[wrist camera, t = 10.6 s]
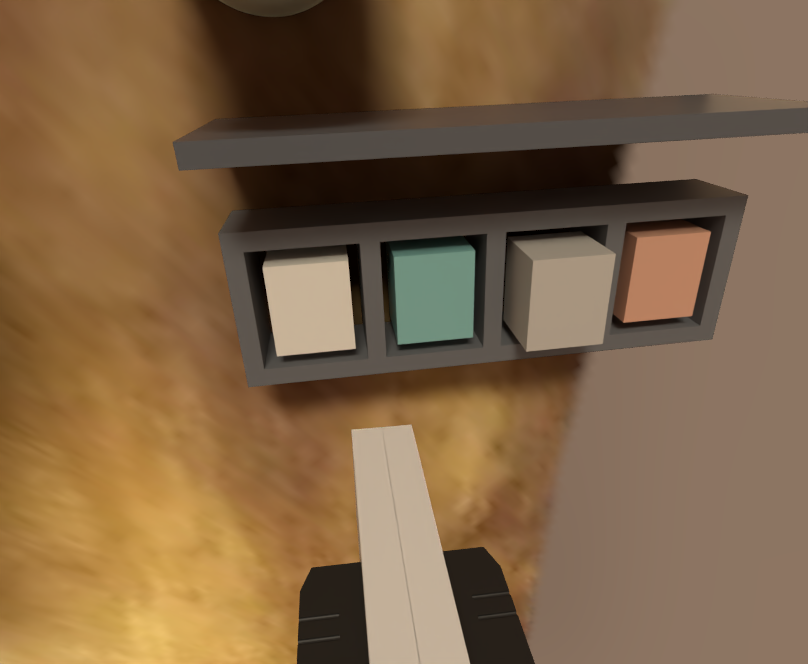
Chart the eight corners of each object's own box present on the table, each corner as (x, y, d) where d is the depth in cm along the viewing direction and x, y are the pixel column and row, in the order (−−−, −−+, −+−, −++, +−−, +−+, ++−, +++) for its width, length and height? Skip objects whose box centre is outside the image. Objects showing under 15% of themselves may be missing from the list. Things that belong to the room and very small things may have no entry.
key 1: (281, 324, 32) (277, 356, 29) (269, 243, 30) (262, 267, 26) (351, 317, 33) (355, 348, 29) (344, 237, 30) (348, 260, 27)
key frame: (256, 348, 33) (248, 387, 29) (232, 210, 30) (218, 233, 26) (669, 309, 36) (712, 339, 32) (695, 179, 33) (748, 195, 29)
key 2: (389, 314, 33) (397, 344, 29) (385, 234, 31) (393, 257, 27) (456, 308, 33) (473, 337, 30) (457, 229, 31) (475, 250, 28)
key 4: (592, 295, 34) (623, 322, 31) (602, 218, 32) (637, 237, 29) (654, 290, 35) (692, 315, 31) (668, 213, 33) (710, 231, 29)
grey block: (503, 319, 32) (526, 351, 28) (507, 236, 30) (533, 260, 26) (571, 313, 32) (602, 343, 29) (581, 231, 30) (615, 254, 26)
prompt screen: (220, 144, 28) (180, 177, 20) (215, 119, 27) (172, 141, 20) (708, 117, 31) (842, 136, 23) (712, 94, 30) (852, 104, 22)
